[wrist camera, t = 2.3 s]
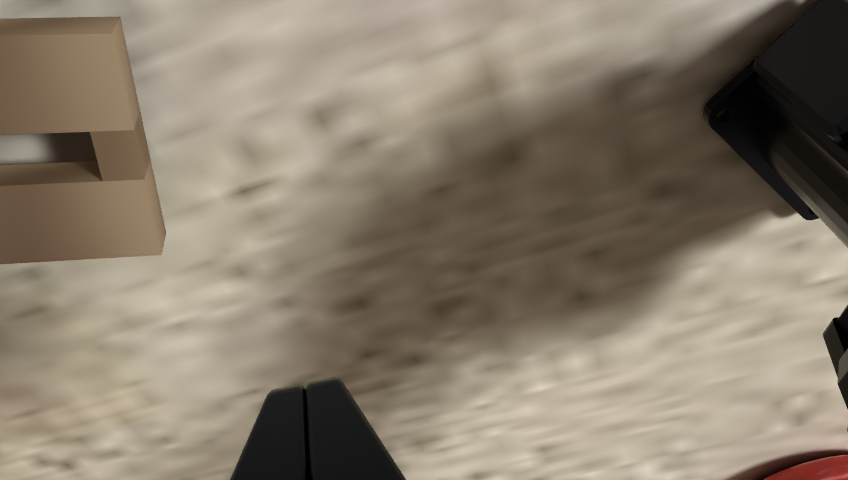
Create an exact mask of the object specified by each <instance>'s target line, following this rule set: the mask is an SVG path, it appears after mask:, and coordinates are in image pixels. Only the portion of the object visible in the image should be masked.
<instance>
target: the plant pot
mask: <svg viewBox="0 0 848 480" xmlns="http://www.w3.org/2000/svg"><path fill="white" fill-rule="evenodd" d="M763 480H848V455H839V456H832V457H826V458H822V459H817V460H813V461H809V462H805V463H802V464H799V465H796V466H793V467H790V468H788V469H785V470H783V471H780V472H778V473H775V474H773V475H771V476H769V477H767V478H765V479H763Z"/></svg>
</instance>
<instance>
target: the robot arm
mask: <svg viewBox="0 0 848 480" xmlns="http://www.w3.org/2000/svg"><path fill="white" fill-rule="evenodd" d="M724 108H727V110H726V112H725V113H724V114H723V115H721V116H718V117H717V114H718V113H719V111H720V110H722V109H724ZM703 118H704V120H705V121H706V122H707V123H708V124H709V126H710V127H711V128H712V129H713V130H714V131H715V132H716V133H717V134H718V135H719V136H720V137H721V138H722V139H723V140H724V141H725V142H726V143H727V144H729V145H730V146H731V147H732V148H733V149H734V150H735V151H736V152H737V153H738V154H739V155H740V156H741V157H742V158H743V159H744V160H745V161H746V162H747V163H748V164H749V165H750V166H751V167H752V168H753V169H754V170H755V171H756V172H757V173H758V174H759V175H760V176H761V177H762V178H763V179H764V180H765V181H766V182H767V183H768V184H769V185H770V186H771V187H772V188H773V189H774V190H775V191H776V192H777V193H778V194H779V195H780V196H781V197H782V198H783V199H784V200H785V201H786V202H787V203H788V204H790V205H791V206H792V207H793V208H794V209H795V210H796V211H797V212H798V213H799V214H800V215H801V216H802V217H803V218H804V219H806V220H815V219H818V218H820V219H821V220H822V221H823V222H824V223H825V224H826V225H827V226H828V227H829V228H830V229H831V231H832V232H833V233H834V234H835V235H836V236H837V237H838V238H839V239H840V240H841V241H842V242H843V243H844V244H845V245H846V246H847V247H848V0H821V1H820V2H819V3H817V4H816V5H815V6H814V7H813V8H812V9H811V10H810V11H809V12H807V13H806V14H805V15H804V16H803V17H802V18H801V19H800V20H798V21H797V22H796V23H795V24H794V25H793V26H792V27H791V28H789V29H788V30H787V31H786V32H785V33H784V34H783V35H782V36H780V37H779V38H778V39H777V40H776V41H775V42H774V43H773V44H771V45H770V46H769V47H768V48H767V49H766V50H765V51H764V52H762V53H761V54H760V55H759V56H758V57H757V58H756V59H755V60H753V61H752V62H751V63H750V64H749V65H748V66H747V67H746V68H745V69H743V70H742V71H741V72H740V73H739V74H738V75H737V76H736V77H734V78H733V79H732V80H731V81H730V82H729V83H728V84H727V85H725V86H724V87H723V88H722V89H721V90H720V91H719V92H718V93H716V94H715V95H714V96H713V97H712V98H711V99H710V100H709V101H708V102H707V103H706V104H705V106H704V109H703ZM823 337H824V340H825V343H826V346H827V348H828V351H829V354H830V357H831V360H832V363H833V365H834V368H835V371H836V374H837V377H838V386H839V389H840V391H841V394H842V396H843V399H844V401H845V404H846V406H847V409H848V305H847V307H846V308H845V309H844V311H843V312H842V314H841V315H840V317H839V318H838V317H837V318H834V319H833V320H832V321H831V323H830V324H829V325H828V327H827V328H826V330H825V331H824V333H823ZM847 431H848V428H847ZM230 480H406V479H405V477H404V476H403V474H402V473H401V471H400V470H399V468H398V467H397V465H396V463H395V462H394V460H393V459H392V457H391V456H390V454H389V453H388V451H387V450H386V448H385V447H384V445H383V443H382V442H381V440H380V439H379V437H378V436H377V434H376V433H375V431H374V430H373V428H372V427H371V425H370V423H369V422H368V420H367V419H366V417H365V416H364V414H363V413H362V411H361V410H360V408H359V406H358V405H357V403H356V402H355V400H354V399H353V397H352V396H351V394H350V393H349V391H348V390H347V388H346V386H345V385H344V383H343V382H342V381H341V380H340V379H339V378H336V377H334V378H329V379H324V380H319V381H314V382H310V383H308V384H307V385H306V388H304V387H303V386H302V385H294V386H289V387H284V388H279V389H275V390H272V391H271V392H270V393H269V394H268V395H267V397H266V399H265V401H264V403H263V406H262V408H261V410H260V413H259V415H258V417H257V419H256V422H255V424H254V426H253V429H252V431H251V433H250V435H249V438H248V440H247V442H246V445H245V447H244V449H243V451H242V454H241V456H240V458H239V461H238V463H237V465H236V467H235V470H234V472H233V474H232V477H231V479H230Z"/></svg>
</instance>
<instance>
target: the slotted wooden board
mask: <svg viewBox="0 0 848 480" xmlns="http://www.w3.org/2000/svg"><path fill="white" fill-rule="evenodd" d="M67 132H90V135H91V139H92V142H93V146H94V150H95V154H96V158H97V161H87V162H63V163H39V164H15V165H0V264H12V263H29V262H46V261H64V260H81V259H98V258H116V257H133V256H150V255H161V254H162V249H163V245H164V240H165V235H166V230H165V225H164V221H163V216H162V211H161V207H160V202H159V197H158V193H157V188H156V183H155V179H154V174H153V169H152V164H151V160H150V155H149V150H148V146H147V141H146V136H145V132H144V127H143V122H142V117H141V113H140V108H139V103H138V99H137V94H136V89H135V85H134V80H133V75H132V70H131V66H130V61H129V56H128V52H127V47H126V42H125V38H124V33H123V28H122V24H121V19H120V17H77V18H20V19H0V135H12V134H40V133H67Z"/></svg>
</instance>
